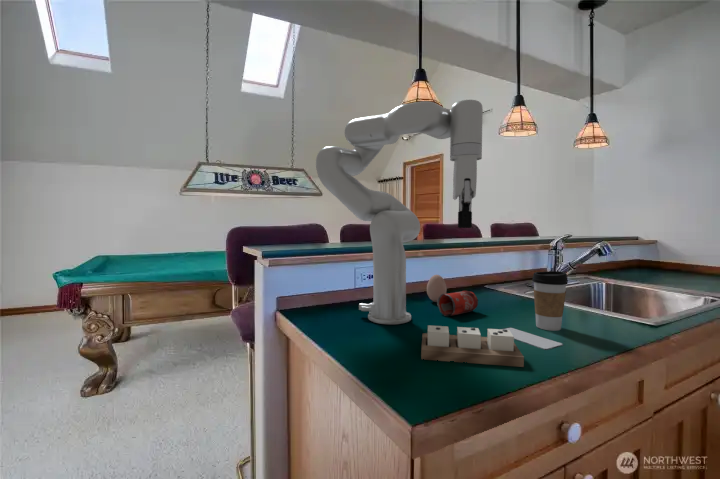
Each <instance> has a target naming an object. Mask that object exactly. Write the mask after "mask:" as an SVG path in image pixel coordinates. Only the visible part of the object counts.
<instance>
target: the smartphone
mask: <svg viewBox="0 0 720 479" xmlns="http://www.w3.org/2000/svg"><path fill="white" fill-rule="evenodd" d="M501 329H502V330H503V329H505V330H510V332H511V333H512V335H513V336H514V341H517V342H518V341H519V342H520V343H524V344H526V345H529V346H533V347H535V348H537V349H541V350H544V351H548V350H551V349H556V348H559V347H562V346H564V343H562V342H559V341H555V340H552V339H550V338H546V337H542V336H539V335H536V334H533V333H530V332H527V331H524V330H520V329H517V328H514V327H504V328H501Z"/></svg>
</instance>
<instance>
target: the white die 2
mask: <svg viewBox="0 0 720 479" xmlns="http://www.w3.org/2000/svg"><path fill="white" fill-rule="evenodd" d="M456 328H457V329H456V330H457V331H456V335H457V347H458V348H471V349H481V337H482V335H481V331H480V329H479V327H465V326H464V327H463V326H457V327H456Z"/></svg>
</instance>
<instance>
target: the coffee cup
mask: <svg viewBox="0 0 720 479" xmlns="http://www.w3.org/2000/svg"><path fill="white" fill-rule="evenodd" d="M532 282H533V298H534V299H533V300H534V301H533V302H534V312H535V325H536V327H537V328H538V329H541V330H546V331H550V332H551V331H554V332H555V331H560V330H562V322H563V314H564V308H565V301H566V295H567V294H566V293H567V290H566V287H567V285H568V284H569V283H568V282H569V280H568V273H567V272H566V271H559V270H557V271H556V270H555V271H554V270H553V271H552V270H551V271H550V270H549V271H536V272H533V276H532Z"/></svg>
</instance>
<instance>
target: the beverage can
mask: <svg viewBox="0 0 720 479" xmlns="http://www.w3.org/2000/svg"><path fill="white" fill-rule="evenodd" d="M436 304H437V305H436V306H437V307H438V309H439V310H438V311H439V312H440V313H441V314H442V315H443V316H445V317H447V316H449V315H450V317H451V316H457V315H461V314H466V313H471V312H473V311H474V310H476V309H477V308H478V305H479V299H478V297H477V295H476V294H475V292H473V291H469V290H462V291H455V292H450V293H446V294H442V295H441V296H440V297H439V298H438V301H437V302H436Z"/></svg>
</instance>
